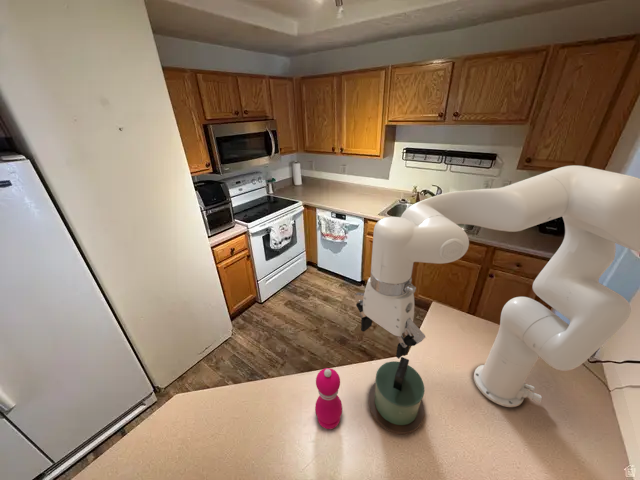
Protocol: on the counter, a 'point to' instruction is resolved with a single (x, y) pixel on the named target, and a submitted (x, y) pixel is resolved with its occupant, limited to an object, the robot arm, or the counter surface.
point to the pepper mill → (328, 398)
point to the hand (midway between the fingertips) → (382, 340)
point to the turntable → (390, 426)
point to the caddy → (398, 392)
